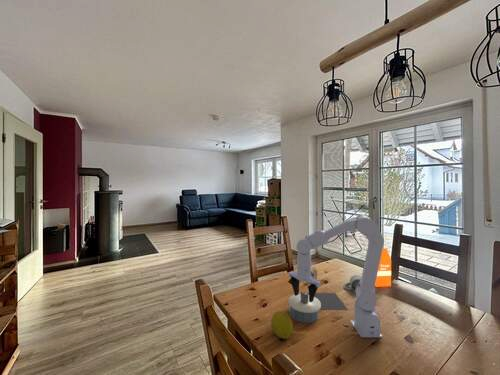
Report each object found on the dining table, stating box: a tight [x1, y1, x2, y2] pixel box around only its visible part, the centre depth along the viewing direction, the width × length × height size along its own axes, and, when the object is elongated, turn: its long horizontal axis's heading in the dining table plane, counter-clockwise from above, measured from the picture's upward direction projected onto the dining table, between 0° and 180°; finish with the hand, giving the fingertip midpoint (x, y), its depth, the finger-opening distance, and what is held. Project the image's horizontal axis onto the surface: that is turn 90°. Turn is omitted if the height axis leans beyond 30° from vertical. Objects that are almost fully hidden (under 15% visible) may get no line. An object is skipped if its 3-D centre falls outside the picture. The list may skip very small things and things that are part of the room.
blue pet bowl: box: [288, 305, 320, 324], centre depth 95 cm, size 12×12×5 cm
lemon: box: [270, 310, 294, 340], centre depth 83 cm, size 11×8×8 cm
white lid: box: [288, 291, 321, 313], centre depth 95 cm, size 14×14×4 cm
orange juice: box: [375, 247, 392, 288], centre depth 125 cm, size 8×9×20 cm
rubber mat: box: [307, 292, 349, 311], centre depth 106 cm, size 15×15×1 cm
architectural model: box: [311, 267, 318, 280], centre depth 130 cm, size 3×7×7 cm, turn 2°
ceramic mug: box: [343, 274, 362, 293], centre depth 118 cm, size 11×8×8 cm
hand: (303, 298), depth 95 cm, fingers open, 7 cm apart
